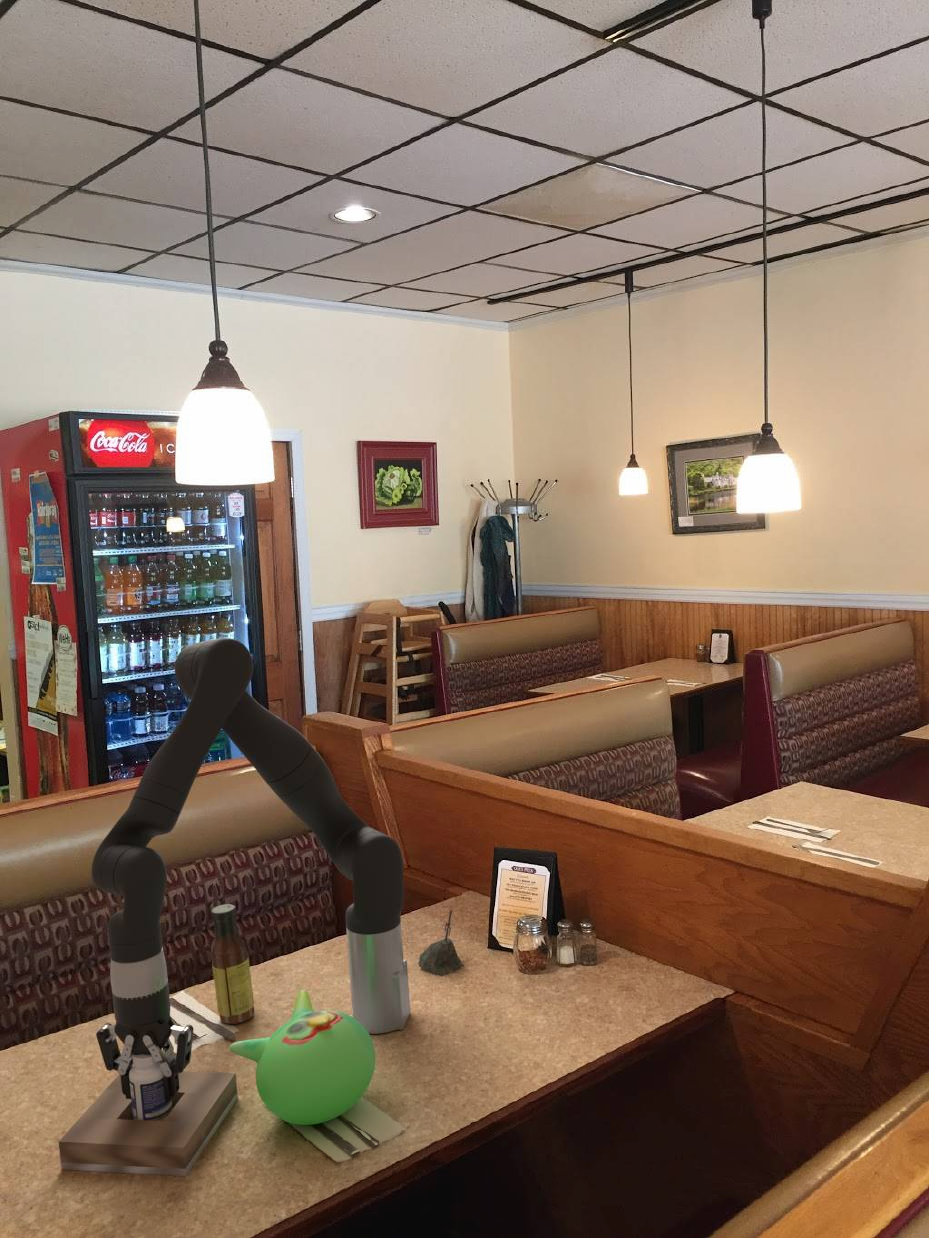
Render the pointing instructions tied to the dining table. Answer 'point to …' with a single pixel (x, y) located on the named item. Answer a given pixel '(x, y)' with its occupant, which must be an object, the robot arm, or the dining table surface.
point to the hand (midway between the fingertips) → (151, 1096)
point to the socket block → (149, 1129)
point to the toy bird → (311, 1064)
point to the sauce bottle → (231, 968)
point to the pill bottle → (148, 1090)
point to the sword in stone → (441, 956)
